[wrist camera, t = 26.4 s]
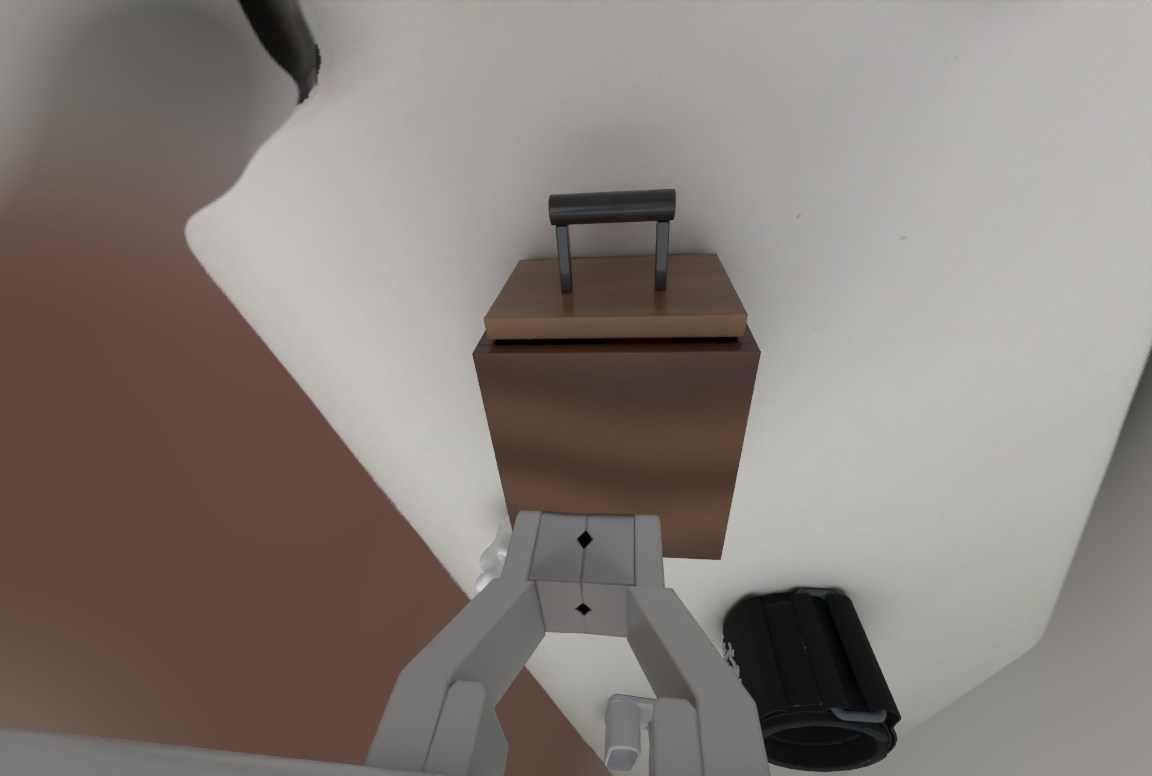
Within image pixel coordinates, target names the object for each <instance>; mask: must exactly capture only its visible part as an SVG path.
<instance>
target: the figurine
mask: <svg viewBox="0 0 1152 776" xmlns="http://www.w3.org/2000/svg"><path fill="white" fill-rule="evenodd" d="M511 536H512V528H511V523H510V519H509V515H508V514H507V515H506V517H505V518H504V519H503V520H502V522H501V524H500V526H499V529H498V532H497V536H496V538H495V540H494V542H493V543H492V544H491V545H490V546H489V547H488V548H487V549H486V550H485V551H484V553H483V554H482V556H481V558H480V567H481V568H482V569H483V570H484V571H485V572H484V573H483V574H481V575H480V576H479V577H478V579H477V581H476V584H475V587H476V590H477V591H478V592H480V591H481V590H482V589H483V588H484V587H485V586H486V585H487V584H488V583H489V582H490V581H491V580H492V579H500V577H501V574H502V570H503V566H504V562H505V558H506V555H507V551H508V547H509V543H510V539H511Z"/></svg>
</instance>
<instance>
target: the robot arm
mask: <svg viewBox="0 0 1152 776" xmlns="http://www.w3.org/2000/svg"><path fill="white" fill-rule="evenodd" d="M545 632H560V633H585V634H596V635H606V636H617V637H627V640H628V642H629V644H630V646H631V648H632V650H633V652H634V654H635V656H636V658H637V660H638V662H639V664H640V666H641V668H642V670H643V672H644V674H645V676H646V677H647V679H648V681H649V683H650V685H651V687H652V689H653V691H654V693H655V695H656V697H657V699H658V700H657V701H656V703H655V704H654V705H653V713H652V725H651V737H650V750H649V776H771V775H770V771H769V765H768V760H767V756H766V751H765V746H764V741H763V736H762V731H761V726H760V721H759V716H758V711H757V707H756V703H755V701H754V700H753V699H752V697H751V696H750V694H749V693H748V692H747V690H746V689H745V688H744V686H743V685H742V683H741V682H740V681H739V679H738V678H737V677H736V675H735V674H734V672H733V671H732V670H731V668H730V667H729V666H728V664H727V663H726V661H725V660H724V659H723V657H722V656H721V655H720V653H719V652H718V650H717V649H716V648H715V646H714V645H713V644H712V642H711V641H710V639H709V638H708V637H707V635H706V634H705V633H704V631H703V630H702V628H701V627H700V626H699V624H698V623H697V622H696V620H695V619H694V617H693V616H692V615H691V613H690V612H689V611H688V609H687V608H686V606H685V605H684V604H683V602H682V601H681V600H680V598H679V597H678V596H677V594H676V593H675V591H674V590H673V589H672V588H665V584H664V570H663V556H662V542H661V528H660V519H659V516H658V515H635V516H634V514H608V513H588V514H581V513H565V512H549V511H528V510H520V512H519V513H518V515H517V517H516V520H515V524H514V528H513V532H512V536H511V539H510V543H509V547H508V551H507V555H506V558H505V562H504V566H503V570H502V574H501V577H500V579H492V580H491V581H490V582H489V583H488V584H487V585H486V586H485V587H484V588H483V589H482V590H481V591H480V592H479V593H478V594H477V595H476V596H475V597H474V598H473V599H472V600H471V601H470V603H468V605H466V606H465V607H464V609H462V610H461V612H459V614H458V615H457V616H456V617H455V618H454V619H453V620H452V621H451V622H450V623H449V624H448V625H447V626H446V627H445V628H444V629H443V630H442V631H441V632H440V633H439V634H438V635H437V636H436V637H435V638H434V639H433V640H432V641H431V642H430V643H429V644H428V645H427V646H426V647H425V648H424V649H423V650H422V651H421V652H420V653H419V654H418V655H417V656H416V657H415V658H414V659H413V660H412V661H411V662H410V663H409V664H408V665H407V666H406V667H405V668H404V669H403V670H402V671H401V672H400V674H399V676H398V679H397V681H396V684H395V686H394V689H393V691H392V694H391V696H390V699H389V701H388V704H387V707H386V709H385V712H384V714H383V717H382V719H381V722H380V725H379V727H378V730H377V732H376V734H375V737H374V739H373V742H372V745H371V747H370V750H369V752H368V755H367V757H366V760H365V762H364V765H363V766H358V765H349V764H340V763H331V762H322V761H312V760H304V759H294V758H286V757H277V756H267V755H258V754H249V753H240V752H231V751H222V750H212V749H204V748H195V747H186V746H177V745H168V744H159V743H149V742H141V741H132V740H121V739H113V738H104V737H95V736H86V735H77V734H68V733H59V732H50V731H41V730H31V729H22V728H12V727H4V726H0V776H504V770H505V764H506V759H507V753H508V747H509V746H508V744H507V741H506V739H505V736H504V733H503V731H502V728H501V726H500V723H499V721H498V718H497V716H496V713H495V710H494V707H495V706H496V705H497V703H498V702H499V700H500V699H501V698H502V696H503V695H504V693H505V692H506V690H507V689H508V687H509V686H510V685H511V683H512V682H513V680H514V679H515V677H516V676H517V675H518V673H519V672H520V670H521V669H522V667H523V666H524V665H525V663H526V662H527V660H528V659H529V658H530V656H531V655H532V653H533V652H534V650H535V649H536V648H537V646H538V645H539V643H540V642H541V640H542V639H543V638H544V636H545Z"/></svg>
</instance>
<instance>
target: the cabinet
mask: <svg viewBox="0 0 1152 776" xmlns="http://www.w3.org/2000/svg"><path fill="white" fill-rule="evenodd" d="M714 338H715V341H716V343H675V344H572V345H516V343H517V341H518V339H496V340H489V339H488V337H487V332H486V331H485V332H484V334H483V336H482V338H481V339H480V341H479V343H478V344H477V347H476V348H475V350H474V352H473V359H474V363H475V368H476V372H477V377H478V381H479V386H480V390H481V394H482V399H483V403H484V408H485V412H486V417H487V421H488V426H489V430H490V434H491V439H492V443H493V448H494V452H495V457H496V461H497V466H498V470H499V475H500V479H501V483H502V488H503V492H504V497H505V501H506V506H507V510H508V515H509V519H510V523H511V528H512V532H513V528H514V524H515V520H516V517H517V515H518V513H519V512H520V510H528V511H549V512H565V513H581V514H588V513H608V514H634V516H635V515H658V516H659V519H660V528H661V542H662V556H663V557H667V558H689V559H711V560H721V555H722V550H723V545H724V540H725V534H726V529H727V524H728V519H729V514H730V508H731V503H732V498H733V493H734V488H735V483H736V477H737V472H738V467H739V462H740V457H741V451H742V446H743V441H744V436H745V431H746V426H747V420H748V415H749V410H750V405H751V400H752V395H753V389H754V384H755V379H756V374H757V369H758V363H759V358H760V353H761V351H760V349H759V347H758V345H757V343H756V341H755V339H754V337H753V335H752V333H751V331H750V329H749V327H748V325H747V323H746V327H745V333H744V336H743V337H714Z"/></svg>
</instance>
